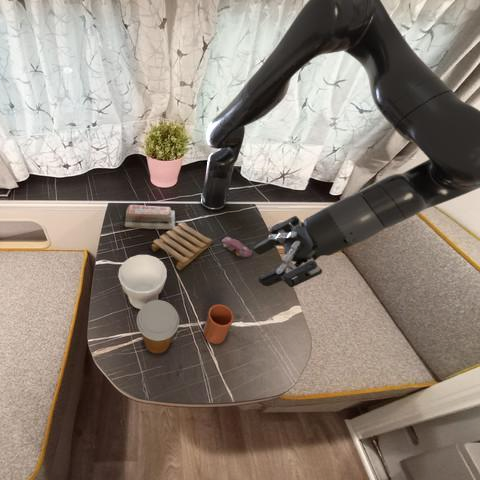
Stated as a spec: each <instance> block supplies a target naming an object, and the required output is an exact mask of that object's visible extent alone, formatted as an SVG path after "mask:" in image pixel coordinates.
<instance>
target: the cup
mask: <svg viewBox="0 0 480 480" xmlns="http://www.w3.org/2000/svg"><path fill="white" fill-rule="evenodd" d="M167 270H168V269H167V267H166V265H165V264H164V262H163V261H162V260H160V259H159V258H158V257H156V256H153V255H150V254H136V255H134V256H131V257H128V259H126V260H124V261H123V262H122V264H121V265H120V266H119V269H118V275H117V277H118V280H119V282H120V286H121V287H122V289H123V292H124V293H125V294H126V295H127V298H128V301H129V304H130V305H131V306H133V307H134V308H136V309H139V310H140V309H141V308H142V307H143V306H144V305H145V304H147V303H148V302H150V301H154V300H159V294H160V293H162V292H163V291H162V290H163V289H164V286H165V284H166V281H167V276H168V275H167V274H168V273H167Z"/></svg>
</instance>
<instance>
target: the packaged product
mask: <svg viewBox="0 0 480 480" xmlns="http://www.w3.org/2000/svg"><path fill="white" fill-rule="evenodd" d="M174 226H176V210H175V209H173V210H172V208H171V206H156V205H141V204H140V205H139V204H129V205H128V206H127V208H126V209H125V220H124V227H125V228H136V229H137V228H138V229H147V230H172V228H173V227H174Z"/></svg>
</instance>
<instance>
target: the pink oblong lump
mask: <svg viewBox="0 0 480 480" xmlns="http://www.w3.org/2000/svg"><path fill="white" fill-rule="evenodd" d="M221 244H222V246H223V248H226V249H228V250H229V251H230V252H234V251H235V250H236V251H235V252H234V253H235V254H236V256H238V257H243V258H250V257H251V256H252V254H253V250H252V249H250V248H249V247H247V246H246V245H245V244H243V243H242V242H241V241H240V240H238V239H235V238H232V237H230V236H225V237H224V238H223V239H222V240H221Z"/></svg>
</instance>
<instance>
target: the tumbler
mask: <svg viewBox="0 0 480 480" xmlns="http://www.w3.org/2000/svg"><path fill="white" fill-rule="evenodd" d="M234 318H235V317H234V313H233V311H232V310H231V308H229V307H228V306H227V305H224V304H222V303H221V304H214V305H212V306H211V307H210V308H209V309H208V313H207V316H206V319H205V324H204V326H203V331H202V332H203V336H204V338H205V339H206V340H207V342H208V343H211V344H215V345H218V344H222V343H223V342H224V341H225V340H226V338H227V336H228V334H229V332H230V329H231V328H232V324H233V322H234Z"/></svg>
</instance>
